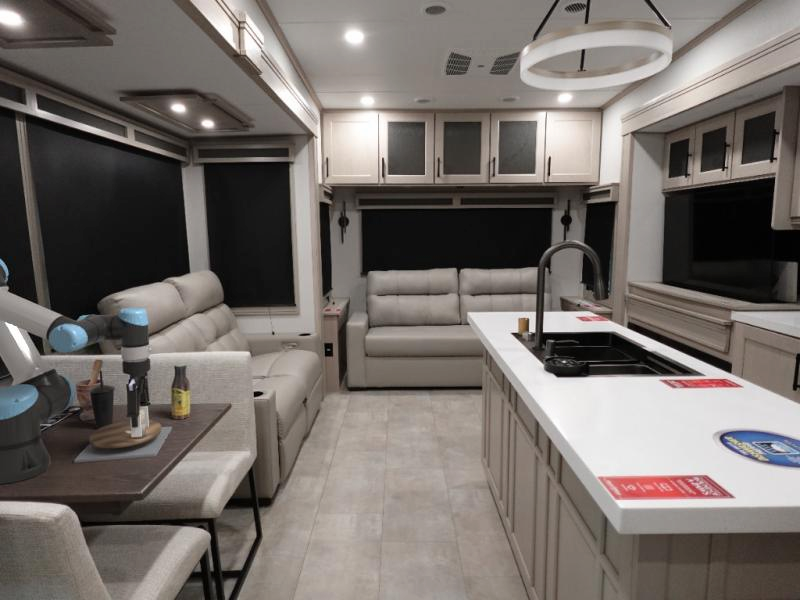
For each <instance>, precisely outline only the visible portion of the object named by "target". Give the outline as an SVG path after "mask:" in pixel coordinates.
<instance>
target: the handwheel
mask: <svg viewBox="0 0 800 600" xmlns="http://www.w3.org/2000/svg"><path fill="white" fill-rule="evenodd" d="M139 414H140V415H141V430H142V436H141V437H131V423H130V420H126V421H125V420H124V421H119V422H115V423H114V422H113V424H110V425H107V426H104V427H102V428H100V429H95V430H94V431H92V433H91V434H89V444H91V445H93V446H95V447H99V448H121V447H128V446H133V445H137V444H140V443H143V442H146V441H149V440H151V439H153V438H155V437H156V436H158V435H159V434H160V433H161V427H162V424H160V422H158V421H154V420H151V419H149V427H146V425H145V408H144V407H141V406H140V411H139Z"/></svg>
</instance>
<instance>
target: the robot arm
mask: <svg viewBox="0 0 800 600" xmlns="http://www.w3.org/2000/svg"><path fill="white" fill-rule="evenodd" d="M8 276H9V270H8V267H7V265H6V264H5V262H4V261H3V260H2V259H1V258H0V359H1V360H2V362H3V363H4V364H5V366H6V368H7V370H8V372H9V373H10V375H11V376H12V378H13V381H12V383H11V385H9V386H8V387H2V388H0V485H2V484H10V483H11V484H13V483H17V482H22V481H25V480H27V479H31V478H33V477H36V476H39V475H41V474H43V473H44V472H46V471H47V470H49V468H50V467H51V466H52V462H51V461H52V460H51V456H50V454H49V452H48V450H47V448H46V445H45V444H44V442H43V440H42V431H41V430H42V429H41V424H43V423H45V422H47V421H49V420H51V419H52V418H54V417H56V416H58V415H61V414H62V413H63V412H65V411H66V410H67V409H68V408H70V407H71V405H72V404H73V402H74V399H75V398H76V397H75V396H76V386H75V385H74V383H73V382H72V380H71V379H70V378H69V377H67V376H64V374H63V375H62V374H58V371H57V370H56V368H55V367H53V366H49V365H48V364H46V363H45V361H44V359H43V358H42V356H41V354H40V352H39V350H38V349H37V347H36V346H35V343H34V342H33V340H32V339H31V336H30V335H29V333H30V334H32V335H35V336H37V337H40V338H42V339H45V340H46V341H48V342H49V344H50V346H51V347H52V348H53V349H54V350H55V351H56V352H59V353H62V354H65V353H68V354H69V353H71V352H76V351H79V350H81V349H83V348H86V347H88V346H91V345H94V344H96V343H99V342H101V341H120V349H121V351H120V352H121V359H122V361H121V365H122V367H121V368H122V373H123V374H125V375H129V378H128V383H126V384H125V388H126V389H125V390H126V411H127V412H126V413H127V414H126V418H129V419H130V420H129V421H130V423H131V437H141V436H142V430H141V415H140V414H139V411H140V407H144V408H145V425H146V427H149V420H150V419H149V406H151V403H152V402H151V400H150V392H149V379H148V378H149V377H148V375H149V374H148V372H149V371H150V370H151V368H152V367H151V359H150V358H149V357H150V351H152V348H151V347H150V340H149V339H150V337H149V318H148V311H147V310H146V309H145V308H143V307H127V308H121V309H120V310H119V312H118V315H117V314H115V315H114V314H86V315H85V314H84V315H81V316H79V317H78V319H76V320H74V319H72V318H71V317H67V316H65V315H62V314H61V313H59V312H56V311H54V310H51V309H49V308H47V307H44V306H41V305H40V304H37V303H35V302H33V301H30V300H28V299H26V298H23V297H21V296H18V295H16V294H14V293H11V292H9V289H10V288H9V286H8V284H7V282H8V279H9V277H8Z"/></svg>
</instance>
